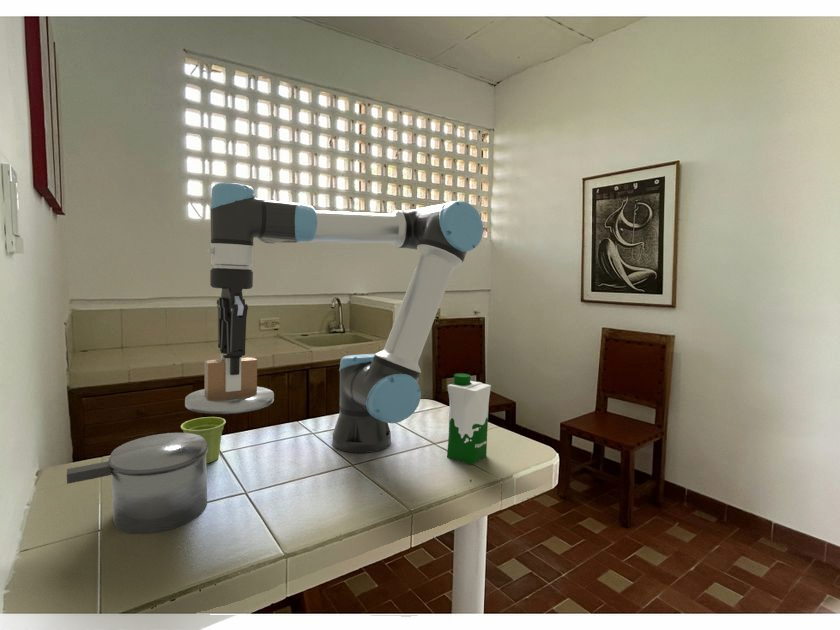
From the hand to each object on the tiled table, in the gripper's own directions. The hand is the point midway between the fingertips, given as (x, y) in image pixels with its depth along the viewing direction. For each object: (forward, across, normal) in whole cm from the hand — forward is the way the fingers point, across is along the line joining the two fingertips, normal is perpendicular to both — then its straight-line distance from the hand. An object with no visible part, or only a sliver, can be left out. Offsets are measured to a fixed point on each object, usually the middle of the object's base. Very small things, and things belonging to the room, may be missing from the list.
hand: (230, 388), depth 90 cm
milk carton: (+20, +12, +52) cm, 57 cm away
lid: (+3, 0, 0) cm, 3 cm away
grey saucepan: (+22, 0, -15) cm, 26 cm away
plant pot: (+22, -20, -1) cm, 29 cm away
